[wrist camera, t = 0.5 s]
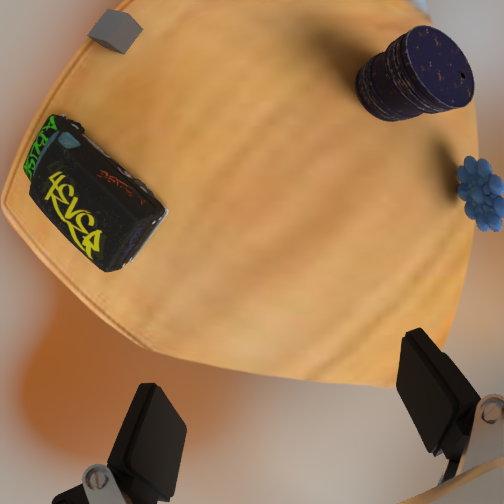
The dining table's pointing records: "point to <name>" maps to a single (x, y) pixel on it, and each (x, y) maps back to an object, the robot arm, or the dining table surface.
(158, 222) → the toy van
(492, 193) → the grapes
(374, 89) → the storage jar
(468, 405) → the robot arm
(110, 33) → the grey block
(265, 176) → the dining table surface
